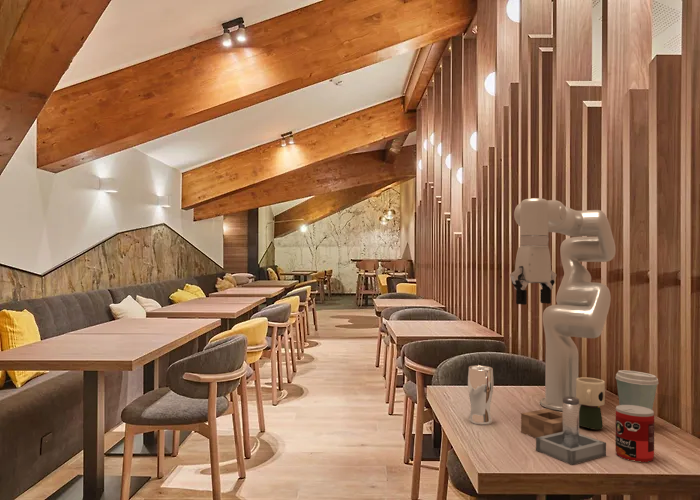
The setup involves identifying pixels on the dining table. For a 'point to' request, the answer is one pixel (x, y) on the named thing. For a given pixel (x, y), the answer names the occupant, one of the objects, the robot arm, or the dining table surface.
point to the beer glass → (480, 393)
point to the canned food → (635, 433)
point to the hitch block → (541, 422)
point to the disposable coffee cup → (636, 388)
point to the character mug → (590, 401)
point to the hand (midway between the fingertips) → (533, 303)
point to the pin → (570, 422)
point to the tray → (584, 452)
